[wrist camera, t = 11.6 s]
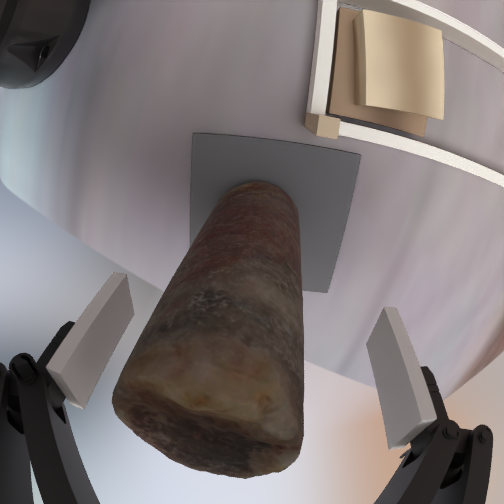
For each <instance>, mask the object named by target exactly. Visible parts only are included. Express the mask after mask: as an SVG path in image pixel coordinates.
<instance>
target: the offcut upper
mask: <svg viewBox="0 0 504 504" xmlns="http://www.w3.org/2000/svg"><path fill="white" fill-rule="evenodd" d="M353 38H354V75H355V92H354V105H359V106H367V107H374V108H381V109H387V110H393V111H399V112H404V113H409V114H414V115H419V116H424V117H430V118H435V119H441V120H443V113H444V58H443V43H442V32H441V30H439V29H436V28H433V27H430V26H427V25H424V24H421V23H418V22H414V21H411V20H407V19H404V18H400V17H396V16H392V15H388V14H384V13H379V12H375V11H370V10H364V9H363V10H362V11H361V12H360V13H359V14H358V15H357V16H356V17H355V18H354V19H353Z"/></svg>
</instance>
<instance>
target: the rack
mask: <svg viewBox="0 0 504 504" xmlns="http://www.w3.org/2000/svg"><path fill="white" fill-rule="evenodd" d="M337 2H341V3H345V4H350V5H354V6H357V7H361V8H365V9H368V10H372V11H375V12H379V13H384V14H388V15H392V16H396V17H400V18H404V19H407V20H411V21H414V22H418V23H421V24H424V25H427V26H430V27H433V28H436V29H439V30H441V32H442V38H444V39H447V40H449V41H451V42H453V43H455V44H456V45H458V46H460V47H462V48H464V49H466V50H468V51H469V52H471V53H473V54H475V55H476V56H478V57H480V58H481V59H483V60H485V61H486V62H488V63H490V64H491V65H493V66H494V67H496V68H497V69H499V70H500V71H502V72H503V73H504V49H503V48H502V47H500V46H499V45H498V44H496V43H495V42H493V41H492V40H490V39H489V38H487V37H485V36H484V35H482V34H481V33H479V32H477V31H476V30H474V29H472V28H471V27H469V26H467V25H466V24H464V23H462V22H460V21H458V20H457V19H455V18H453V17H451V16H449V15H447V14H445V13H443V12H441V11H439V10H437V9H435V8H432V7H430V6H428V5H426V4H424V3H421V2H419V1H416V0H318V11H317V21H316V32H315V42H314V51H313V60H312V69H311V78H310V86H309V94H308V102H307V110H306V118H305V125H304V126H305V127H306V128H307V129H309V130H310V131H311V132H312V133H314V134H315V135H316V136H321V137H327V138H332V139H337V140H338V135H342V136H346V137H351V138H356V139H360V140H365V141H369V142H373V143H377V144H381V145H385V146H389V147H393V148H396V149H400V150H404V151H407V152H411V153H414V154H417V155H421V156H424V157H427V158H430V159H433V160H436V161H439V162H442V163H445V164H448V165H451V166H454V167H456V168H459V169H462V170H464V171H467V172H470V173H472V174H475V175H477V176H480V177H482V178H485V179H487V180H489V181H492V182H494V183H496V184H499V185H501V186H503V187H504V175H502V174H500V173H498V172H496V171H494V170H492V169H490V168H487V167H485V166H483V165H480V164H478V163H476V162H473V161H471V160H469V159H466V158H464V157H461V156H459V155H456V154H453V153H451V152H448V151H445V150H443V149H440V148H437V147H434V146H431V145H428V144H425V143H422V142H419V141H416V140H413V139H409V138H406V137H403V136H399V135H396V134H392V133H389V132H385V131H381V130H377V129H374V128H370V127H365V126H361V125H357V124H352V123H348V122H343V121H340V120H341V119H339V118H334V117H330V116H325V111H326V104H327V96H328V88H329V80H330V72H331V63H332V53H333V44H334V33H335V22H336V9H337Z"/></svg>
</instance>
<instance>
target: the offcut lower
mask: <svg viewBox="0 0 504 504" xmlns="http://www.w3.org/2000/svg"><path fill="white" fill-rule="evenodd" d="M359 13H360V12H359V11H355V10H351V9H347V8H343V7H340V8H339V9H338V11H337V12H336V22H335V33H334V44H333V53H332V63H331V72H330V80H329V88H328V96H327V104H326V111H325V113H330V114H335V115H340V116H345V117H350V118H354V119H359V120H363V121H367V122H371V123H375V124H379V125H383V126H387V127H391V128H394V129H398V130H401V131H405V132H408V133H411V134H415V135H418V136H421V137H424V134H425V128H426V122H427V117H424V116H419V115H414V114H409V113H404V112H399V111H393V110H387V109H381V108H374V107H367V106H359V105H354V92H355V75H354V38H353V19H354V18H355V17H356V16H357V15H358V14H359Z"/></svg>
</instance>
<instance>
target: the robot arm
mask: <svg viewBox="0 0 504 504" xmlns="http://www.w3.org/2000/svg"><path fill="white" fill-rule="evenodd" d="M88 6H89V0H0V86H1V87H4V88H8V89H18V88H26V87H31V86H34V85H36V84H38V83H40V82H42V81H43V80H44V79H46V78H47V77H48V76H49V75H51V74H52V73H53V72H54V71H55V70H56V68H57V67H58V66H59V65H60V64H61V63H62V61H63V60H64V59H65V57H66V56H67V54H68V53H69V51H70V50H71V48H72V47H73V45H74V43H75V41H76V39H77V37H78V35H79V33H80V31H81V29H82V26H83V24H84V21H85V18H86V15H87V11H88ZM133 316H134V310H133V305H132V300H131V295H130V290H129V284H128V278H127V274H124V273H118V272H114V273H113V274H112V275H111V276H110V278H109V279H108V280H107V282H106V283H105V284H104V285H103V287H102V288H101V289H100V291H99V292H98V293H97V294H96V296H95V297H94V298H93V300H92V301H91V302H90V304H89V305H88V306H87V308H86V309H85V310H84V312H83V313H82V315H81V316H80V317H79V319H78V320H77V322H76V323H75V322H71V321H69V322H67V323H66V324H65V325H63V326H62V327H61V328H60V329H59V331H58V332H57V334H56V336H55V337H54V338H53V339H52V341H51V343H49V345H48V346H47V348H46V349H45V351H44V352H43V354H42V355H41V357H40V358H39V360H38V361H37V363H36V362H35V360H34V359H33V357H32V356H31V355H30V354H27V353H20V354H18V355H16V356H15V357H13V359H12V360H11V362H10V363H9V369H10V370H7V368H6V367H5V366H4V365H3V364H2V363H0V504H34V501H33V493H32V483H31V469H30V461H31V464H32V468H33V472H34V475H35V479H36V482H37V485H38V488H39V491H40V494H41V497H42V500H43V503H44V504H100V502H99V500H98V498H97V496H96V494H95V492H94V490H93V487H92V485H91V483H90V480H89V478H88V475H87V473H86V470H85V468H84V465H83V463H82V460H81V457H80V455H79V451H78V448H77V446H76V443H75V440H74V437H73V433H72V430H71V426H70V423H69V419H68V416H67V412H66V408H65V405H64V403H63V402H64V400H65V398H67V400H68V401H69V403H70V404H71V405H74V406H76V407H78V408H81V409H83V410H84V409H85V407H86V405H87V403H88V401H89V398H90V397H91V395H92V393H93V391H94V388H95V386H96V384H97V383H98V381H99V379H100V376H101V375H102V372H103V371H104V369H105V367H106V365H107V363H108V361H109V359H110V357H111V355H112V353H113V352H114V350H115V348H116V346H117V344H118V342H119V340H120V339H121V337H122V335H123V333H124V332H125V330H126V328H127V326H128V324H129V323H130V321H131V319H132V317H133ZM366 345H367V349H368V353H369V357H370V361H371V365H372V369H373V373H374V378H375V382H376V386H377V391H378V395H379V400H380V405H381V410H382V415H383V420H384V425H385V431H386V436H387V442H388V448H389V450H391V449H398V448H403V447H405V446H406V445H407V444H408V443H410V444H411V448H410V449H409V450H407V451H406V452H405V453H403V454H402V456H400V458H403V457H404V456H405V457H404V459H403V460H402V462H401V464H400V465H399V467H398V469H397V470H396V472H395V474H394V475H393V477H392V478H391V480H390V481H389V483H388V485H387V486H386V487H385V489H384V490H383V492H382V493H381V495H380V496H379V497H378V499H377V500H376V502H375V503H374V504H485V501H486V495H487V490H488V484H489V477H490V470H491V469H490V468H491V460H492V448H493V434H492V431H491V429H490V428H488V426H485V425H479V426H477V427H476V428H475V429H474V430H468V429H461V428H459V426H458V424H457V423H456V422H454V421H452V420H449V418H448V416H447V412H446V409H445V406H444V403H443V400H442V397H441V394H440V392H439V389H438V386H437V385H436V384H437V383H436V380H435V378H434V375H433V373H432V372H431V371H430V370H429V368H428V367H427V366H424V367H420V365H419V362H418V359H417V357H416V354H415V352H414V349H413V346H412V344H411V341H410V339H409V336H408V334H407V331H406V329H405V327H404V324H403V322H402V319H401V317H400V315H399V313H398V310H397V308H391V307H384V308H383V310H382V312H381V314H380V317H379V319H378V321H377V323H376V325H375V327H374V329H373V331H372V333H371V335H370V337H369V339H368V341H367V343H366Z"/></svg>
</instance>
